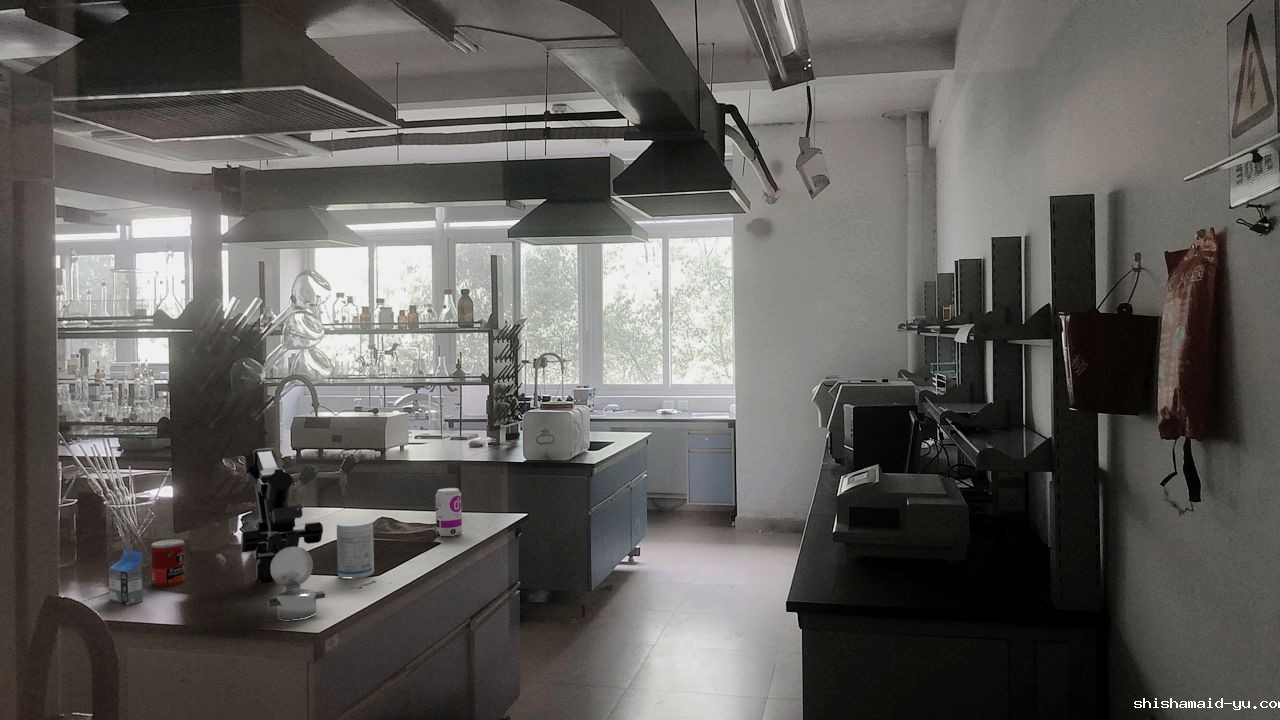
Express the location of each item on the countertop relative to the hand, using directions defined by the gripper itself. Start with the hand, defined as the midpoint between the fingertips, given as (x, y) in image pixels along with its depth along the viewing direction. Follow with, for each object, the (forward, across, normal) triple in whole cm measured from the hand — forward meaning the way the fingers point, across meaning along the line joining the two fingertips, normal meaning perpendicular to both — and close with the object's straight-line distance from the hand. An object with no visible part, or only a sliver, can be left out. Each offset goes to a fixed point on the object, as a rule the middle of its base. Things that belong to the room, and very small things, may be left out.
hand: (287, 565), depth 208 cm
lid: (+5, 0, -6) cm, 7 cm away
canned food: (-21, -24, +34) cm, 47 cm away
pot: (+15, 0, -2) cm, 15 cm away
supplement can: (-29, +58, +42) cm, 77 cm away
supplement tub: (-5, +20, +18) cm, 27 cm away
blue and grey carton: (-12, -34, +25) cm, 44 cm away
